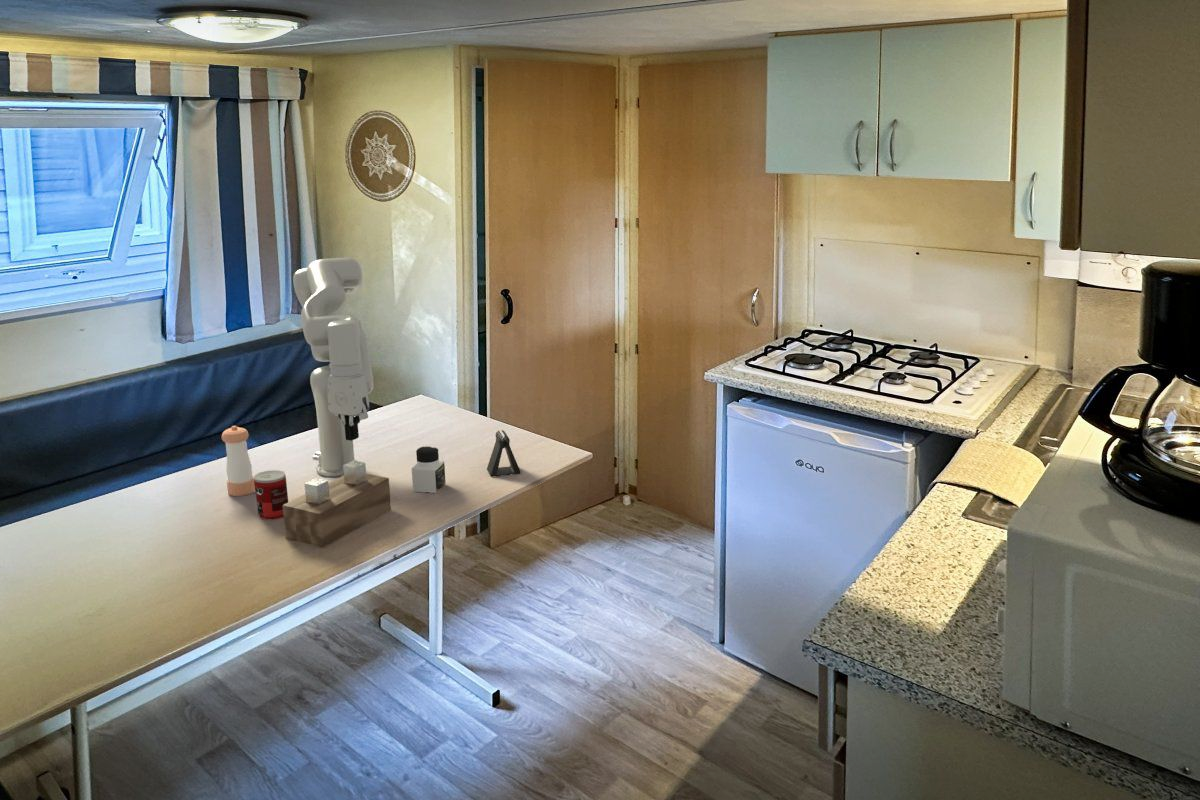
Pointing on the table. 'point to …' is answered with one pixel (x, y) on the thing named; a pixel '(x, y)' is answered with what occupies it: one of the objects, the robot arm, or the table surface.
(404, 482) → the table surface
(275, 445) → the table surface
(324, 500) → the pin
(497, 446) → the phone stand
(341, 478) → the walnut block
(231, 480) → the pepper shaker
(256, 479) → the canned food
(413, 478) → the medicine bottle
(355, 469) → the pin
